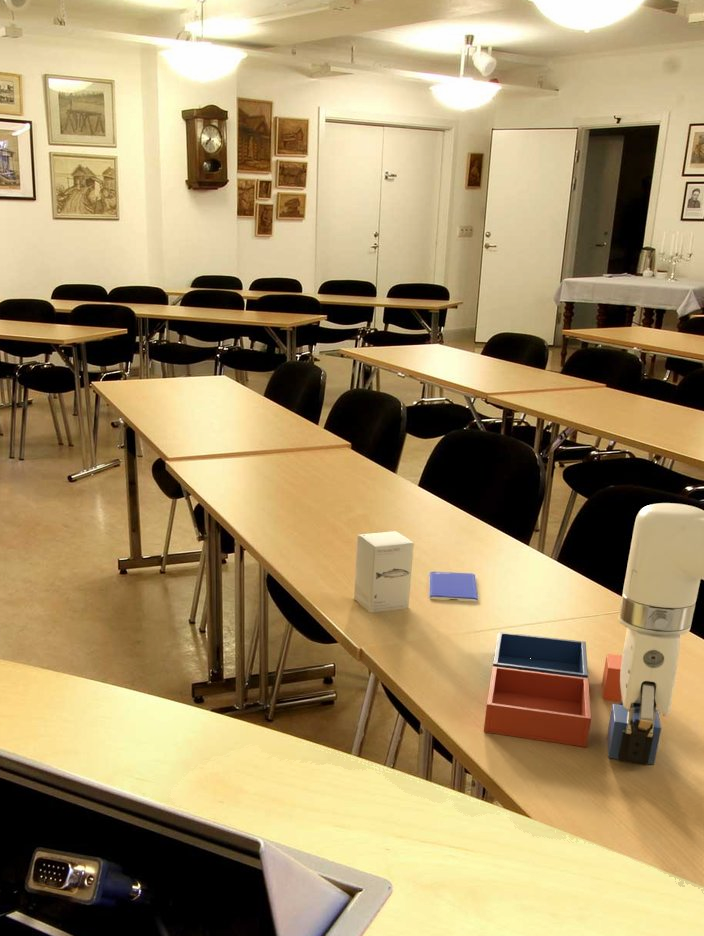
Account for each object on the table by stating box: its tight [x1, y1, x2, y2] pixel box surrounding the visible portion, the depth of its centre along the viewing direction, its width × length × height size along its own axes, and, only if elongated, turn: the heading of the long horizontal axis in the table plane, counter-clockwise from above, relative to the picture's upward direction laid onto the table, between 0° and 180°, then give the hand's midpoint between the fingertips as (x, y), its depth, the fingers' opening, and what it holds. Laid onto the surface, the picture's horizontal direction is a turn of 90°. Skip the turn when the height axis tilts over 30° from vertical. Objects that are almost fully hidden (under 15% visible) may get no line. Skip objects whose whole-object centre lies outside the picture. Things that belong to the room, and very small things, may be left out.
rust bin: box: [483, 665, 592, 748], centre depth 119 cm, size 12×12×4 cm
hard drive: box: [428, 571, 479, 603], centre depth 164 cm, size 2×8×12 cm
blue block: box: [606, 703, 662, 766], centre depth 111 cm, size 5×5×5 cm
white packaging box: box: [353, 530, 415, 614], centre depth 156 cm, size 7×7×13 cm
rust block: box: [601, 653, 623, 703], centre depth 124 cm, size 5×5×5 cm
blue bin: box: [492, 631, 589, 679], centre depth 131 cm, size 12×12×4 cm
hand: (630, 745), depth 111 cm, fingers open, 6 cm apart
